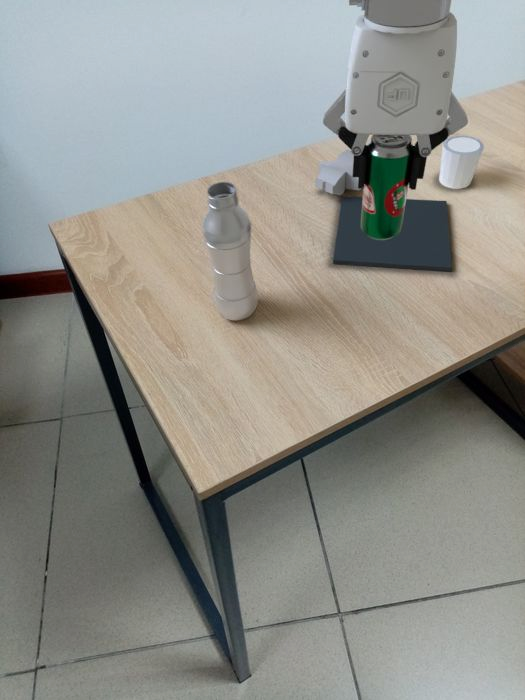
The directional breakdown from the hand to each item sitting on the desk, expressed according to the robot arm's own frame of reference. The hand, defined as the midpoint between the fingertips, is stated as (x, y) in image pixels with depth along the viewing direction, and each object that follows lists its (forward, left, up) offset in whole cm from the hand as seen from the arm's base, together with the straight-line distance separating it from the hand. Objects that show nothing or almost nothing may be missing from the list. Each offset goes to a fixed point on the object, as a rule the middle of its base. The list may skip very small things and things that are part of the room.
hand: (386, 181), depth 61 cm
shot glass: (-14, -36, -21) cm, 44 cm away
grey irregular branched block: (+5, -33, -21) cm, 39 cm away
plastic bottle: (+19, +2, -21) cm, 29 cm away
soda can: (0, 0, -7) cm, 7 cm away
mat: (-3, -19, -21) cm, 28 cm away
